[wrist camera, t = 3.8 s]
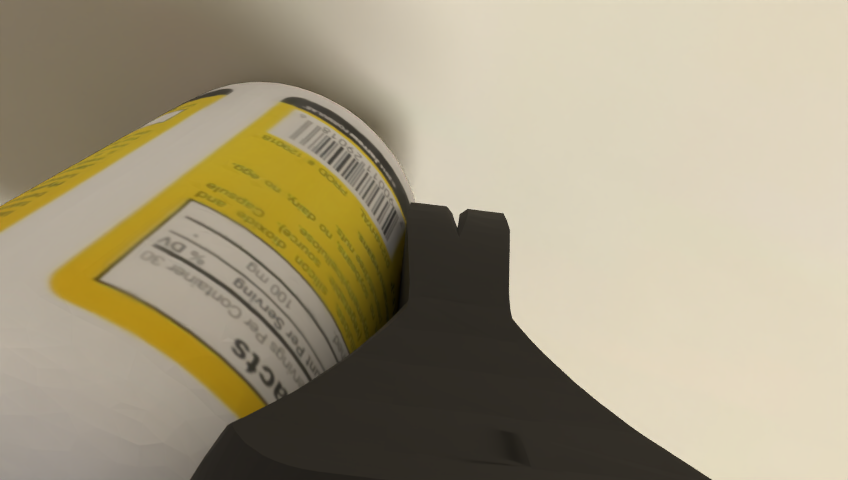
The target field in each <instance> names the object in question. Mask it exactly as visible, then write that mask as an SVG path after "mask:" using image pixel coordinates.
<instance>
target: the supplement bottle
mask: <svg viewBox="0 0 848 480" xmlns="http://www.w3.org/2000/svg"><path fill="white" fill-rule="evenodd" d="M411 202H413V203H415V200H414V196H413V193H412V190H411V187H410V185H409V183H408V180H407V178H406V176H405V174H404V172H403V170H402V168H401V166H400V164H399V163H398V161H397V160H396V158H395V156H394V155H393V154H392V152H391V151H390V150H389V148H388V147H387V146H386V145H385V143H384V142H383V141H382V140H381V139H380V138H379V137H378V136H377V135H376V134H375V132H374V131H373V130H372V129H370V128H369V127H368V126H367V125H366V124H365V123H364V122H363V121H362V120H361V119H359V118H358V117H357V116H355V115H354V114H353V113H351V112H350V111H349V110H347V109H346V108H344V107H342V106H341V105H339V104H337V103H335V102H334V101H332V100H330V99H328V98H326V97H324V96H321V95H319V94H316V93H314V92H311V91H308V90H305V89H302V88H299V87H295V86H291V85H286V84H281V83H271V82H247V83H239V84H231V85H228V86H224V87H220V88H217V89H214V90H211V91H209V92H207V93H204V94H202V95H200V96H198V97H196V98H194V99H192V100H190V101H188V102H185V103H183V104H182V105H180V106H178V107H176V108H174V109H172V110H170V111H168V112H167V113H165V114H163V115H161V116H160V117H158V118H156V119H154V120H153V121H151V122H149V123H148V124H146V125H144V126H142V127H140V128H139V129H137V130H135V131H133V132H131V133H130V134H128V135H126V136H124V137H123V138H121V139H119V140H117V141H115V142H114V143H112V144H110V145H108V146H107V147H105V148H103V149H101V150H100V151H98V152H96V153H94V154H93V155H91V156H89V157H87V158H85V159H83V160H82V161H80V162H78V163H77V164H75V165H73V166H71V167H69V168H67V169H66V170H64V171H62V172H60V173H58V174H57V175H55V176H53V177H52V178H50V179H48V180H46V181H44V182H43V183H41V184H39V185H37V186H36V187H34V188H32V189H30V190H28V191H27V192H25V193H23V194H21V195H20V196H18V197H16V198H14V199H12V200H10V201H9V202H7V203H5V204H4V205H2V206H0V480H190V479H191V477H192V476H193V474H194V472H195V471H196V469H197V468H198V466H199V465H200V463H201V461H202V460H203V458H204V457H205V455H206V454H207V453H208V451H209V450H210V448H211V447H212V446H213V444H214V443H215V441H216V440H217V438H218V437H219V436H220V434H221V433H222V432H223V430H224V429H225V428H226V426H227V425H229V424H230V423H232V422H234V421H236V420H238V419H241V418H243V417H245V416H247V415H249V414H251V413H253V412H255V411H257V410H259V409H261V408H263V407H265V406H267V405H269V404H271V403H273V402H275V401H276V400H278V399H280V398H282V397H284V396H286V395H288V394H290V393H292V392H294V391H295V390H297V389H299V388H300V387H302V386H304V385H305V384H307V383H308V382H310V381H311V380H313V379H314V378H316V377H317V376H319V375H320V374H322V373H323V372H325V371H326V370H328V369H329V368H331V367H332V366H334V365H335V364H336V363H338V362H339V361H341V360H342V359H344V358H345V357H347V356H348V355H349V354H351V353H352V352H353V351H354V350H356V349H357V348H358V347H360V346H361V345H362V344H363V343H364V342H365V341H367V340H368V339H369V338H370V337H371V336H372V335H374V334H375V333H376V332H377V331H378V330H379V329H381V328H382V327H383V326H384V325H385V324H386V323H387V322H388V321H389V320H390V319H391V318H392V317H393V316H394V315H395V314H396V313H397V312H398V302H399V291H400V281H401V271H402V261H403V251H404V242H405V232H406V222H407V215H408V211H409V207H410V203H411Z"/></svg>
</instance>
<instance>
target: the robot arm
mask: <svg viewBox="0 0 848 480" xmlns="http://www.w3.org/2000/svg"><path fill="white" fill-rule="evenodd" d="M509 253H510V229H509V226H508V223H507V220H506V218H505V216H504V214H503V213H495V212H487V211H479V210H471V209H467V210H465V211H464V212H463V213H461V214H460V216H459V223H458V227H457V226H456V224H455V221H454V218H453V214H452V213H451V211H450V210H449V209H448V207H446V206H438V205H430V204H421V203H413V202H411V203H410V207H409V211H408V215H407V222H406V232H405V242H404V251H403V261H402V271H401V281H400V291H399V302H398V312H397V313H396V314H395V315H394V316H393V317H392V318H391V319H390V320H389V321H388V322H387V323H386V324H385V325H384V326H383V327H382V328H381V329H379V330H378V331H377V332H376V333H375V334H374V335H372V336H371V337H370V338H369V339H368V340H367V341H365V342H364V343H363V344H362V345H361V346H360V347H358V348H357V349H356V350H354V351H353V352H352V353H351V354H349V355H348V356H347V357H345V358H344V359H342V360H341V361H339V362H338V363H336V364H335V365H334V366H332V367H331V368H329V369H328V370H326V371H325V372H323V373H322V374H320V375H319V376H317V377H316V378H314V379H313V380H311V381H310V382H308V383H307V384H305V385H304V386H302V387H300V388H299V389H297V390H295V391H294V392H292V393H290V394H288V395H286V396H284V397H282V398H280V399H278V400H276V401H275V402H273V403H271V404H269V405H267V406H265V407H263V408H261V409H259V410H257V411H255V412H253V413H251V414H249V415H247V416H245V417H243V418H241V419H238V420H236V421H234V422H232V423H230V424H229V425H227V426H226V428H225V429H224V430H223V432H222V433H221V434H220V436H219V437H218V438H217V440H216V441H215V443H214V444H213V446H212V447H211V448H210V450H209V451H208V453H207V454H206V455H205V457H204V458H203V460H202V461H201V463H200V465H199V466H198V468H197V469H196V471H195V472H194V474H193V476H192V477H191V479H190V480H711V479H710V478H708V477H707V476H705V475H704V474H702V473H701V472H699V471H698V470H696V469H694V468H693V467H691V466H690V465H688V464H687V463H685V462H684V461H682V460H681V459H679V458H677V457H676V456H674V455H673V454H671V453H670V452H668V451H667V450H665V449H664V448H662V447H660V446H659V445H657V444H656V443H654V442H653V441H651V440H650V439H648V438H647V437H645V436H643V435H642V434H640V433H639V432H638V431H636V430H635V429H633V428H632V427H631V426H629V425H628V424H627V423H625V422H624V421H623V420H621V419H620V418H619V417H617V416H616V415H615V414H614V413H612V412H611V411H610V410H608V409H607V408H606V407H604V406H603V405H602V404H600V403H599V402H598V401H596V400H595V399H594V398H593V397H592V396H590V395H589V394H588V393H587V392H586V391H584V390H583V389H582V388H581V387H580V386H578V385H577V384H576V383H575V382H574V381H573V380H571V379H570V378H569V377H568V376H567V375H566V374H565V373H564V372H563V371H562V370H561V369H560V368H559V367H557V366H556V365H555V364H554V363H553V362H552V361H551V360H550V359H549V358H548V357H547V356H546V355H545V354H544V353H543V352H542V351H541V350H540V349H539V348H538V347H537V346H536V345H535V344H534V343H533V342H532V341H531V340H530V339H529V338H528V337H527V335H526V334H525V333H524V332H523V331H522V330H521V329H520V327H519V326H518V325H517V324H516V323H515V321H514V320H513V319H512V316H511V311H510V302H509Z"/></svg>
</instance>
